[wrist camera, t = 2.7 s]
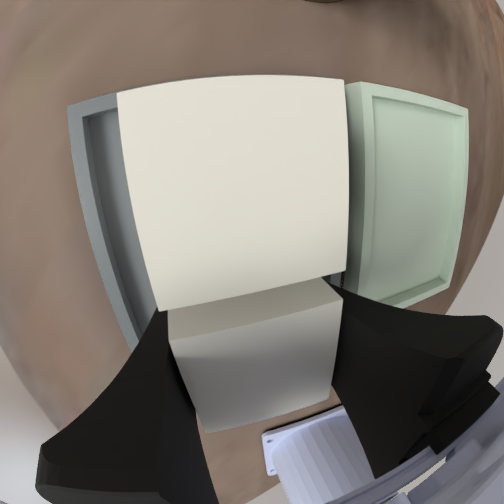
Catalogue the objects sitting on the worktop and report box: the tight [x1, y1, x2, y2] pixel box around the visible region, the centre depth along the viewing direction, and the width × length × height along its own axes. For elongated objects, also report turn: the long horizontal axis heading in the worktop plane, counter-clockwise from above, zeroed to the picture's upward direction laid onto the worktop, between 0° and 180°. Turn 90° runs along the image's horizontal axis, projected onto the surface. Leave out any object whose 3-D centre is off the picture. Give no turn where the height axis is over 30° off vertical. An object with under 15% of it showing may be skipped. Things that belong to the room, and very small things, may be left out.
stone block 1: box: [117, 75, 349, 312], centre depth 7 cm, size 4×4×4 cm
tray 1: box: [67, 74, 341, 353], centre depth 10 cm, size 11×9×1 cm
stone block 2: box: [168, 277, 343, 433], centre depth 9 cm, size 4×4×4 cm
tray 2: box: [343, 82, 469, 309], centre depth 12 cm, size 11×8×1 cm
